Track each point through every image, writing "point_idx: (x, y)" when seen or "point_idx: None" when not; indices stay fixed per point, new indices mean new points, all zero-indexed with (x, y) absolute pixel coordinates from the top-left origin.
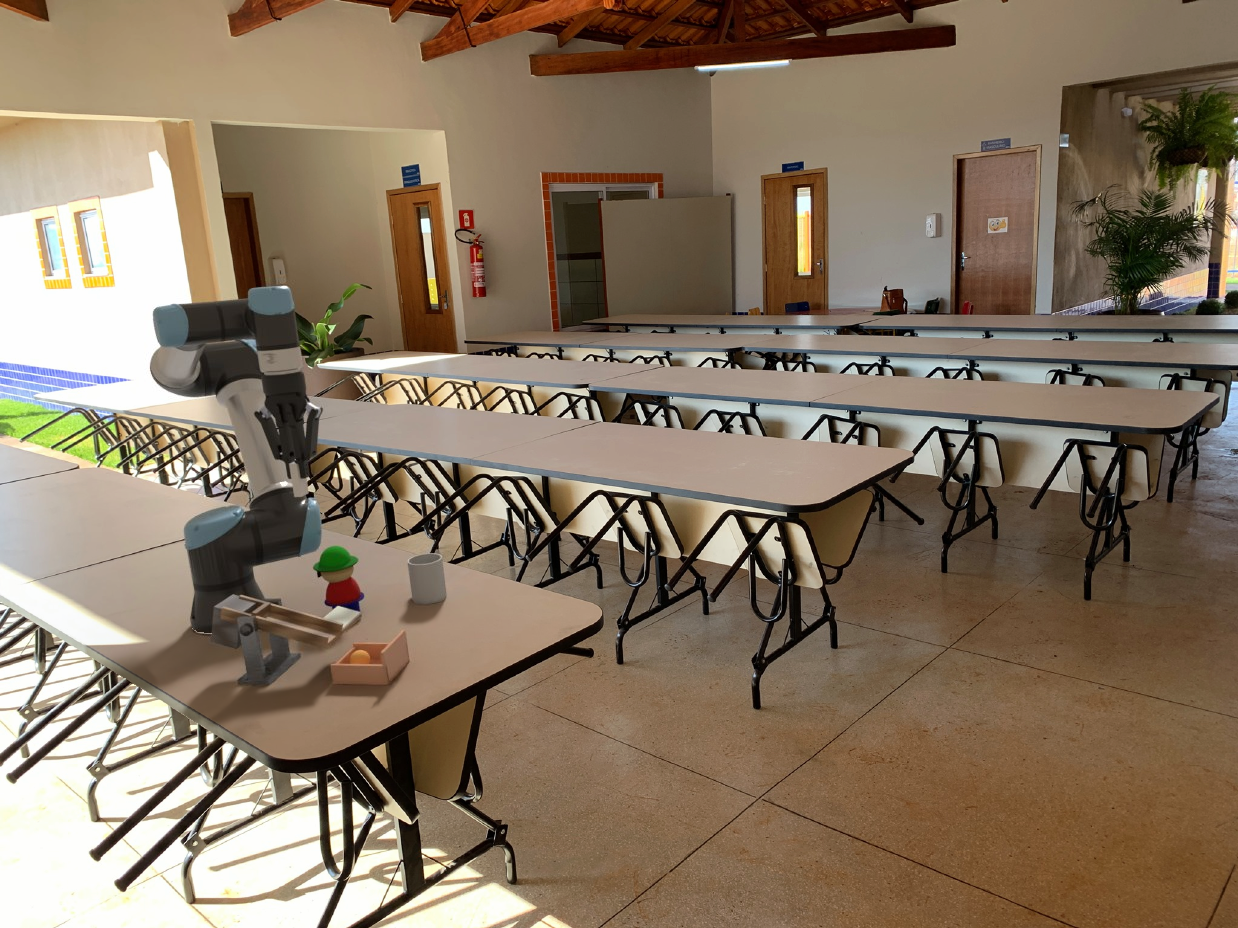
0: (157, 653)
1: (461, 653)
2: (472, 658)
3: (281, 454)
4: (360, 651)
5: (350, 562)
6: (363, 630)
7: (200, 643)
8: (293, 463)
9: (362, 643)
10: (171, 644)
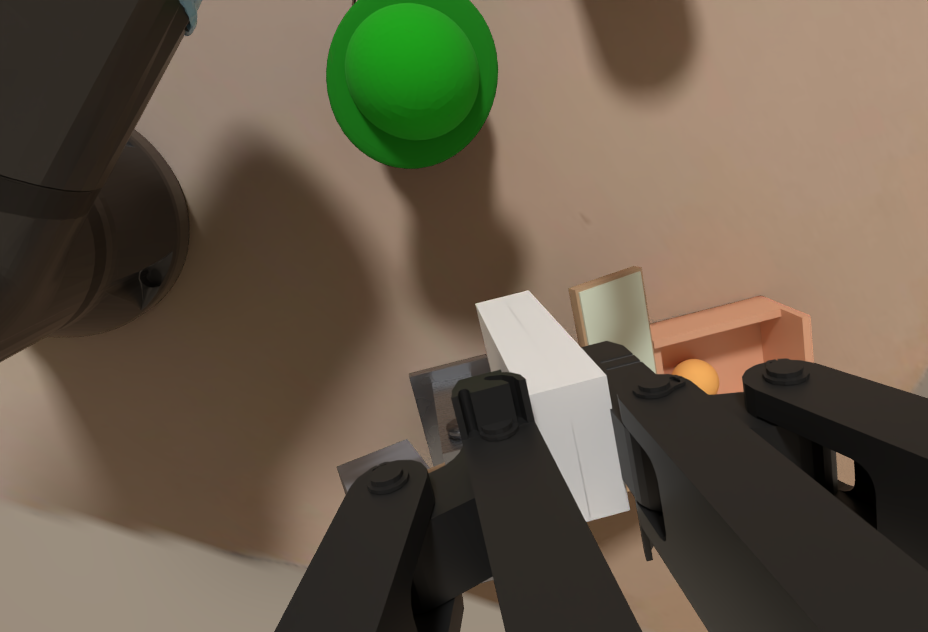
0: (81, 446)
1: (864, 227)
2: (899, 243)
3: (464, 587)
4: (709, 389)
5: (484, 69)
6: (541, 174)
7: (139, 368)
8: (599, 517)
9: (678, 341)
10: (60, 396)
